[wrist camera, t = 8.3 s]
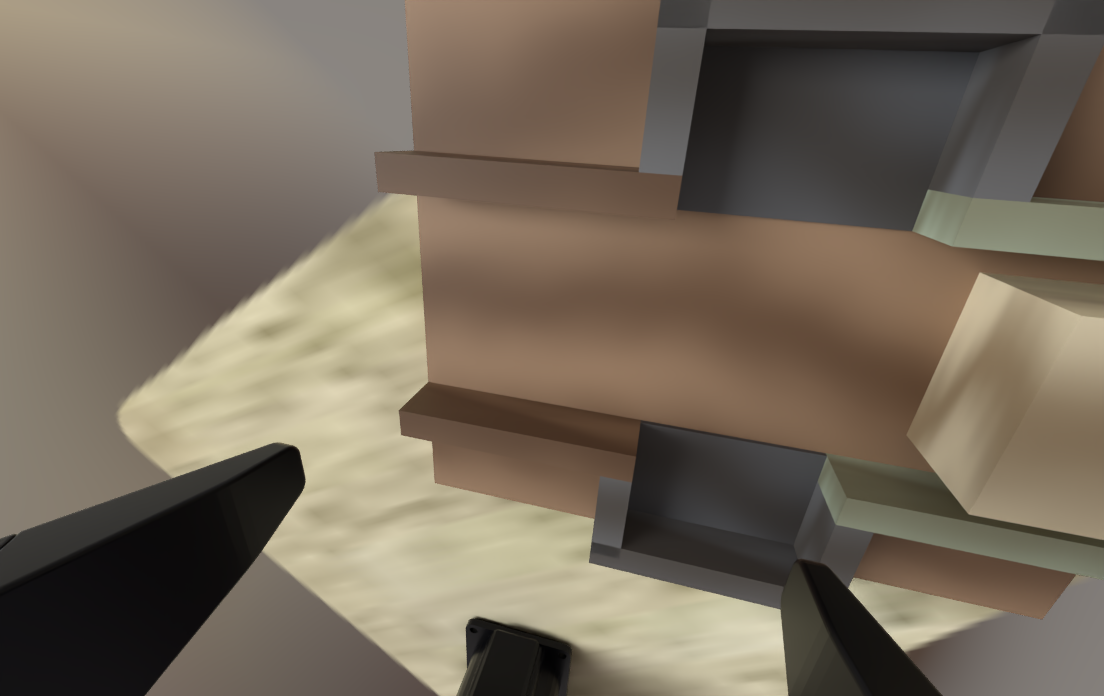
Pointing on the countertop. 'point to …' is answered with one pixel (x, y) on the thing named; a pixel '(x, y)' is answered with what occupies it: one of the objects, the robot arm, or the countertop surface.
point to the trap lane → (741, 268)
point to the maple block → (1022, 405)
